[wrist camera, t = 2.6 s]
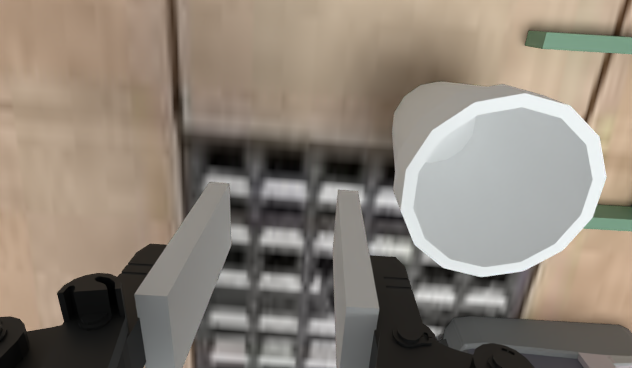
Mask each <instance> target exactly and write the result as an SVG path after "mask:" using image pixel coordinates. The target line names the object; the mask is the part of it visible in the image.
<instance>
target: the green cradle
mask: <svg viewBox="0 0 632 368" xmlns="http://www.w3.org/2000/svg"><path fill="white" fill-rule="evenodd" d="M525 46H530V47H535V48H541V49H555V50H571V51H588V52H605V53H621V54H632V37H625V36H609V35H592V34H576V33H559V32H543V31H528V35H527V39H526V43H525ZM584 229H601V230H618V231H632V206H631V207H630V206H613V205H597V206H596V209H595V212H594V215H593V218H592V219H591V220H590V221H589V222H588V223H587V224H586V225H585V227H584Z"/></svg>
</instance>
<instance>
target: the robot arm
mask: <svg viewBox="0 0 632 368" xmlns="http://www.w3.org/2000/svg"><path fill="white" fill-rule="evenodd" d="M230 247H231V216H230V185H229V183H214V182H209V184H208V185H207V187H206V188H205V190H204V191H203V193H202V194H201V196H200V197H199V199H198V200H197V202H196V203H195V205H194V206H193V208H192V209H191V211H190V212H189V213H188V215H187V216H186V218H185V219H184V221H183V222H182V224H181V225H180V227H179V228H178V230H177V231H176V233H175V234H174V236H173V237H172V239H171V240H170V242H169V243H168V245H161V244H149V245H148V246H146V247H144V248H143V249H141V250H140V251H138V252H137V253H136V254H135V255H134V256H133V258H132V259H131V260H130V262H129V263H128V265H126V267H125V268H124V269H123V271H122V273H121V274H119V276H118V277H116V276H113V275H111V274H103V273H96V274H90V275H85V276H82V277H80V278H77V279H74V280H72V281H71V282H69V283H67V284H66V285H64V286H63V287H62V288H61V289H60V290H59V291H58V292H57V295H58V299H59V303H60V307H61V311H62V315H63V319H64V323H63V325H61V326H56V327H52V328H46V329H40V330H34V331H28V332H26V329H25V325H24V323H23V322H22V321H21V320H20V319H18V318H14V317H0V368H143V367H144V365H145V368H183V365H184V363H185V360H186V358H187V355H188V353H189V350H190V348H191V345H192V343H193V340H194V338H195V335H196V333H197V330H198V328H199V325H200V323H201V320H202V318H203V315H204V313H205V310H206V308H207V305H208V303H209V300H210V297H211V295H212V292H213V290H214V287H215V285H216V282H217V280H218V277H219V275H220V272H221V270H222V267H223V265H224V262H225V260H226V257H227V255H228V252H229V250H230ZM333 274H334V304H335V335H336V365H337V368H534V366H533V365H532V364H531V363H530V362H529V360H528V359H527V358H526V357H525V356H523V355H522V354H520V353H519V352H518V351H516V350H514V349H512V348H509V347H507V346H505V345H501V344H495V343H489V344H482V345H481V346H479V347H477V348H476V349H475V352H474V354H473V355H472V354H469V353H465V352H462V351H459V350H456V349H453V348H450V347H448V346H445V345H443V344H442V343H440V342H438V341H437V340H436V337H435V335H434V333H433V332H432V331H431V330H430V329H429V327H427V326H426V325H424V324H423V323H422V320H421V317H420V314H419V311H418V307H417V304H416V301H415V298H414V295H413V291H412V290H411V285H410V282H409V280H408V275H407V272H406V269H405V267H404V266H403V265H402V263H401V262H400V261H399V260H398V259H397V258H396V257H385V256H370V255H369V249H368V244H367V238H366V233H365V228H364V222H363V217H362V211H361V206H360V200H359V195H358V191H349V190H338V195H337V206H336V218H335V230H334V242H333Z"/></svg>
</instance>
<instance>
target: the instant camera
mask: <svg viewBox="0 0 632 368" xmlns="http://www.w3.org/2000/svg"><path fill="white" fill-rule="evenodd" d="M438 342H440V343H442V344H443V345H445V346H448V347H450V348H453V349H456V350H459V351H462V352H465V353H469V354H472V355H473V354H474V352H475V349H476V348H477V347H479V346H481V345H482V344H489V343H495V344H501V345H505V346H507V347H509V348H512V349H514V350H516V351H518V352H519V353H520V354H522V355H523V356H525V357H526V358H527V359H528V360H529V362H530V363H531V364H532V365H533V366H534V368H632V333H631V332H630V331H629V329H627V328H625V327H623V326H620V325H612V324H595V323H578V322H561V321H544V320H528V319H511V318H494V317H477V316H467V317H458V318H453V320H452V321H451V322H450V323H449V325H448V326H447V327H446V328H445V332H444V336H443V339H442V340H440V341H438Z"/></svg>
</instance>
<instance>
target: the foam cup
mask: <svg viewBox="0 0 632 368" xmlns="http://www.w3.org/2000/svg"><path fill="white" fill-rule="evenodd" d="M392 139H393V151H394V163H395V179H394V187H393V191H394V194H395V197H396V199H397V202H398V205H399V207H400V210H401V212H402V215H403V217H404V220H405V222H406V225H407V227H408V230H409V232H410V235H411V237H412V240H413V242H414V245H415V246H417V247H418V248H419V249H420V250H422V251H423V252H424V253H425V254H427V255H428V256H429V257H430V258H431V259H433V260H434V261H435V262H436V263H438V264H439V265H440V266H441V267H443V268H445V269H450V270H454V271H458V272H462V273H466V274H471V275H475V276H479V277H486V276H493V275H500V274H507V273H514V272H521V271H525V270H526V269H528V268H530V267H532V266H534V265H536V264H538V263H540V262H542V261H544V260H546V259H548V258H549V257H551V256H553V255H555V254H557V253H559V252H561V251H563V250H564V248H565V247H566V246H567V245H568V244H569V243H570V242H571V241H572V240H573V239H574V238H575V236H576V235H577V234H578V233H579V232H580V231H581V230H582V229H583V228H584V227H585V225H586V224H587V223H588V222H589V221H590V220H591V219H592V218H593V215H594V212H595V209H596V206H597V203H598V200H599V198H600V195H601V192H602V189H603V186H604V183H605V180H606V172H605V166H604V160H603V154H602V148H601V143H600V137H599V136H598V135H597V134H596V133H595V132H594V130H593V129H592V128H591V127H590V126H589V125H588V124H587V123H586V122H585V121H584V120H583V119H582V118H581V117H580V115H579V114H578V113H577V112H576V111H575V110H574V109H573V108H572V107H571V106H570V105H567V104H564V103H562V102H559V101H557V100H554V99H551V98H549V97H546V96H544V95H540V94H537V93H533V92H530V91H526V90H523V89H519V88H516V87H512V86H509V85H505V84H500V85H494V86H489V87H488V86H479V85H470V84H461V83H451V82H440V81H439V82H434V83H429V84H423V85H420V86H418V87H417V88H415V89H414V90H413V91H411V92H410V93H408V94H407V95H405V96H404V97H403V99H402V101H401V102H400V104H399V105H398V107H397V109H396V110H395V112H394V117H393V126H392Z"/></svg>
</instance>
